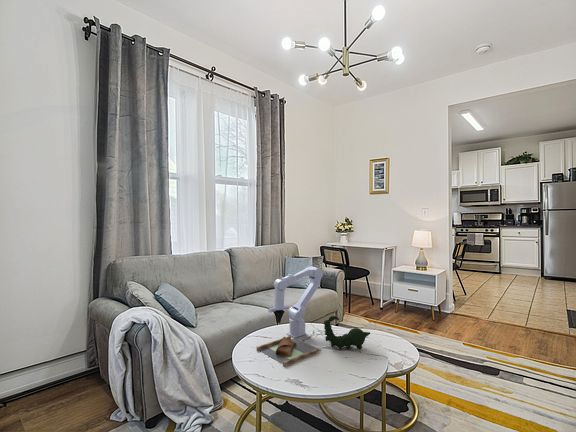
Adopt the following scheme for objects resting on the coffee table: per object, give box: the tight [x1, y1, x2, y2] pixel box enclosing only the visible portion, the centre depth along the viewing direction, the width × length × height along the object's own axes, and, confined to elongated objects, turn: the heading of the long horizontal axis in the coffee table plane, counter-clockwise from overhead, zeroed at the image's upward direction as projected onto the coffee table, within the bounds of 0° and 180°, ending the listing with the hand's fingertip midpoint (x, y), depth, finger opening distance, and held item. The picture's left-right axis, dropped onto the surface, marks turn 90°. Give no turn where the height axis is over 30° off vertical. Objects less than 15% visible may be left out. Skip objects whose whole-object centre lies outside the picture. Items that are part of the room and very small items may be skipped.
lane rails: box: [256, 335, 320, 367], centre depth 175 cm, size 24×24×2 cm
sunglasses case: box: [276, 336, 296, 357], centre depth 177 cm, size 18×7×7 cm
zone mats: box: [258, 337, 322, 365], centre depth 176 cm, size 26×22×1 cm
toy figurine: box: [323, 315, 371, 351], centre depth 179 cm, size 9×19×25 cm
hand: (278, 322), depth 193 cm, fingers closed
